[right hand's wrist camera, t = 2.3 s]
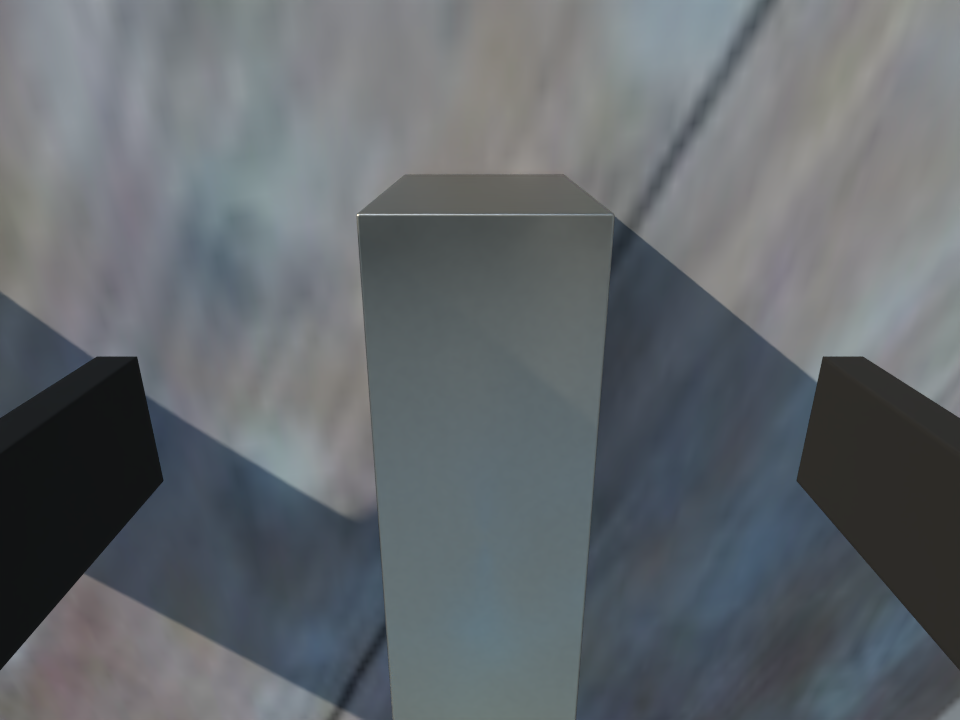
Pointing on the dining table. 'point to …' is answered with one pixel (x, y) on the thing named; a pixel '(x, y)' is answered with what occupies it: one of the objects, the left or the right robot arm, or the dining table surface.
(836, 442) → the right robot arm
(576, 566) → the box
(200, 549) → the dining table surface
